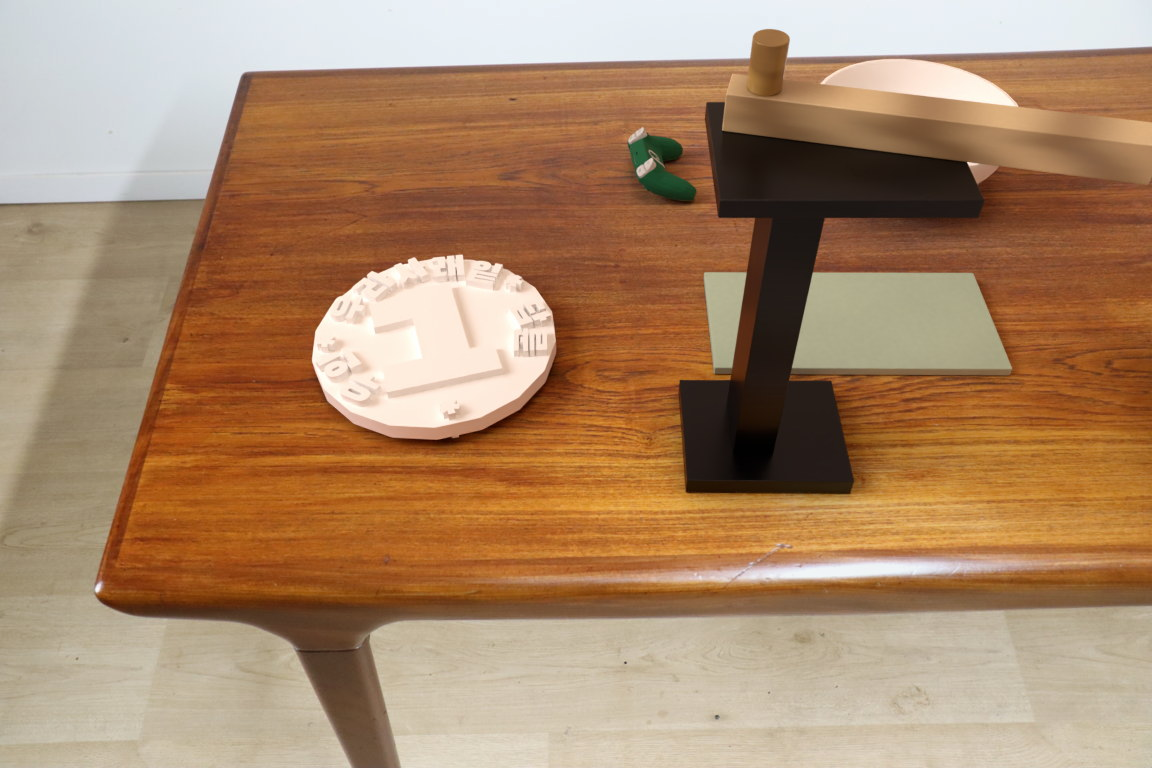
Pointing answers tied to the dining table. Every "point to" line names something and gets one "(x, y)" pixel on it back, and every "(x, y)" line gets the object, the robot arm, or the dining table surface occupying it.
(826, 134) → the long square wooden dowel
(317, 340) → the giant coin
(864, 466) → the dining table surface
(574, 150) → the dining table surface
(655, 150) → the gaming controller
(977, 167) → the bowl
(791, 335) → the black pedestal stand
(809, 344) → the mat
